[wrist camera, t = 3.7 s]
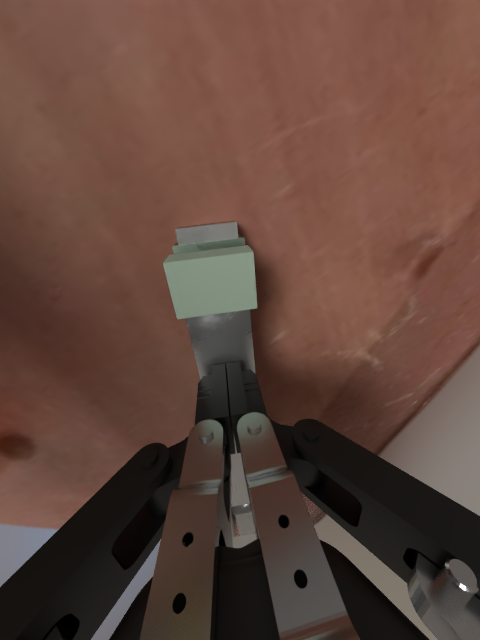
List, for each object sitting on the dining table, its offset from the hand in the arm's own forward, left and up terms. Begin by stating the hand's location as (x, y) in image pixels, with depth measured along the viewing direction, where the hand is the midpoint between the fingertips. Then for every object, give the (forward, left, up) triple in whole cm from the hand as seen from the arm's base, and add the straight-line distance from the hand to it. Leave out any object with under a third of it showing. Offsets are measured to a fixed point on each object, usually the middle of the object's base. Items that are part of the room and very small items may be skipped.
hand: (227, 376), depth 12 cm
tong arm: (+3, 0, -1) cm, 4 cm away
